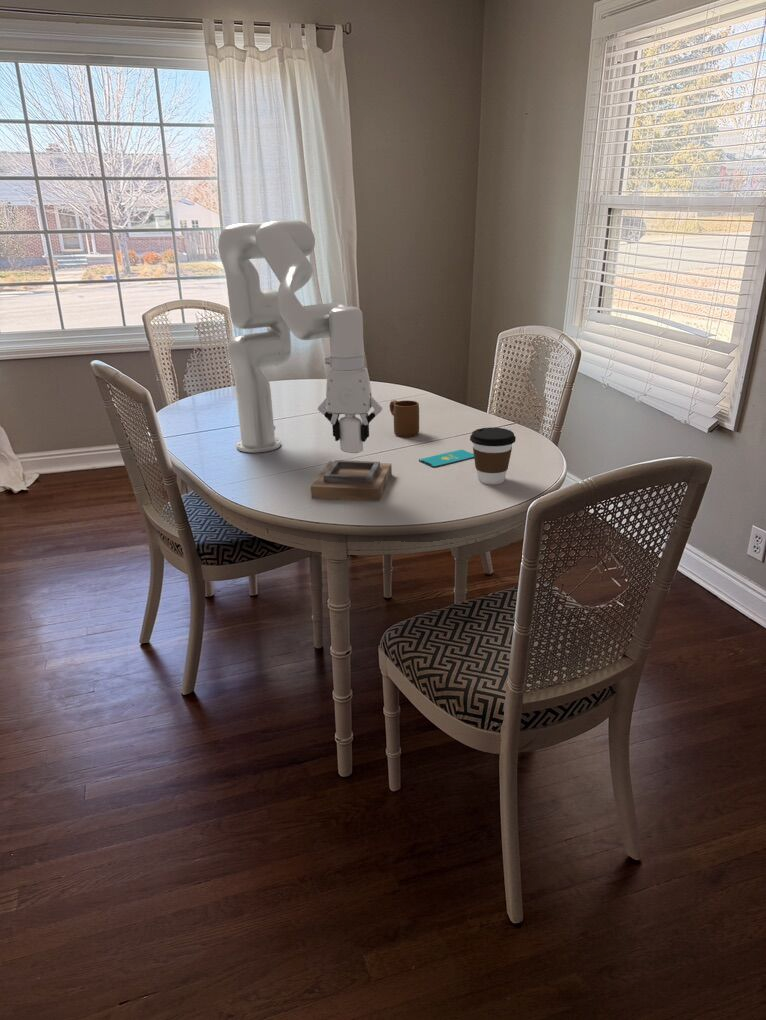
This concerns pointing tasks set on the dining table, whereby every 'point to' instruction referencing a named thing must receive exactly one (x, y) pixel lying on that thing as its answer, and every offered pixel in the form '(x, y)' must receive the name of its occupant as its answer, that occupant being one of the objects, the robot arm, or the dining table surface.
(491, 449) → the coffee cup
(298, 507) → the dining table surface
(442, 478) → the dining table surface
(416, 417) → the mug
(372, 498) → the display stand
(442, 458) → the smartphone
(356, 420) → the eye dropper bottle
